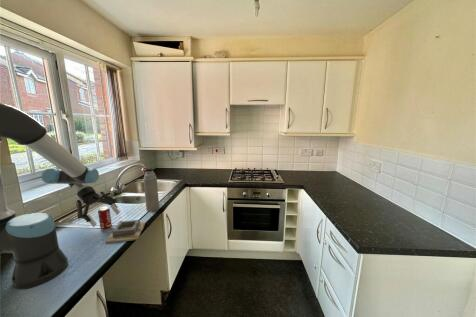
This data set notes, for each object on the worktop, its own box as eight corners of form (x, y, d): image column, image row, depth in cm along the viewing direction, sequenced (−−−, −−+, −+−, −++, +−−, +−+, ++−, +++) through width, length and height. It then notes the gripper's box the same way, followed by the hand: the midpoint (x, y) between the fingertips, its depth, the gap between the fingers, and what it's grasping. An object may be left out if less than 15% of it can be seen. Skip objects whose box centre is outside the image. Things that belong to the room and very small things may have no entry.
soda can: (110, 224, 108) (107, 205, 106) (113, 227, 105) (110, 207, 103) (99, 228, 104) (96, 208, 102) (102, 232, 101) (99, 211, 99)
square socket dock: (137, 239, 94) (136, 232, 93) (105, 243, 91) (104, 235, 91) (145, 223, 110) (144, 216, 109) (119, 226, 107) (118, 219, 106)
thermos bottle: (151, 205, 132) (148, 167, 127) (161, 206, 131) (158, 168, 126) (143, 211, 125) (139, 170, 119) (154, 212, 123) (150, 171, 118)
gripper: (103, 187, 118) (124, 212, 116) (54, 203, 94) (80, 235, 93) (108, 179, 115) (129, 205, 114) (59, 194, 92) (86, 227, 90)
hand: (107, 219), depth 103 cm, fingers open, 13 cm apart
